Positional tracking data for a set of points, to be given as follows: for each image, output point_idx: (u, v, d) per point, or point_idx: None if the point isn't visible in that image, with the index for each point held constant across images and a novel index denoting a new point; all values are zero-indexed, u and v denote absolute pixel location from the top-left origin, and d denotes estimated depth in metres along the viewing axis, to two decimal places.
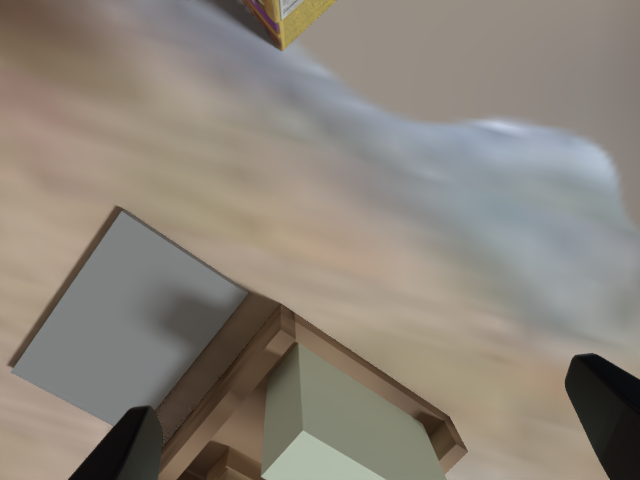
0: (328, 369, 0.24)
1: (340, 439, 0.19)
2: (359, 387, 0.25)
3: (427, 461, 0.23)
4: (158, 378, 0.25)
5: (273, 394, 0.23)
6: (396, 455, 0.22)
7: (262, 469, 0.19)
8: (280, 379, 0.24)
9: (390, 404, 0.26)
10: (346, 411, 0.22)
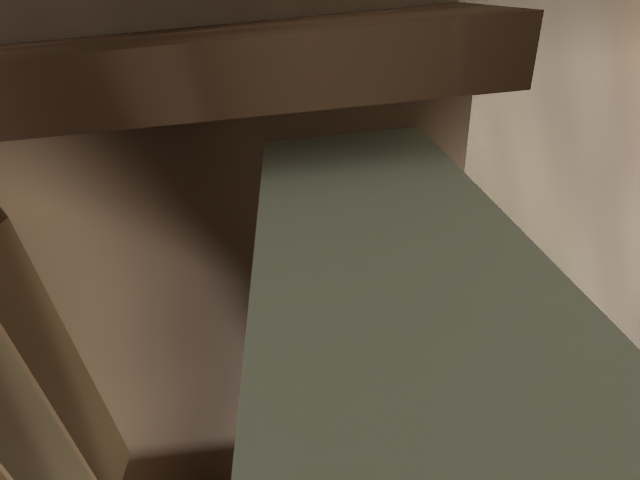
0: None
1: None
2: None
3: None
4: None
5: (307, 183, 0.06)
6: None
7: None
8: (342, 163, 0.07)
9: None
10: None
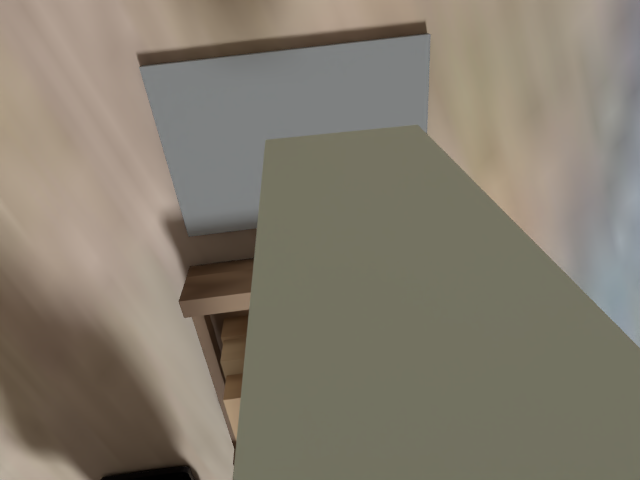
0: None
1: None
2: None
3: None
4: None
5: (307, 180, 0.06)
6: None
7: None
8: (342, 160, 0.07)
9: None
10: None
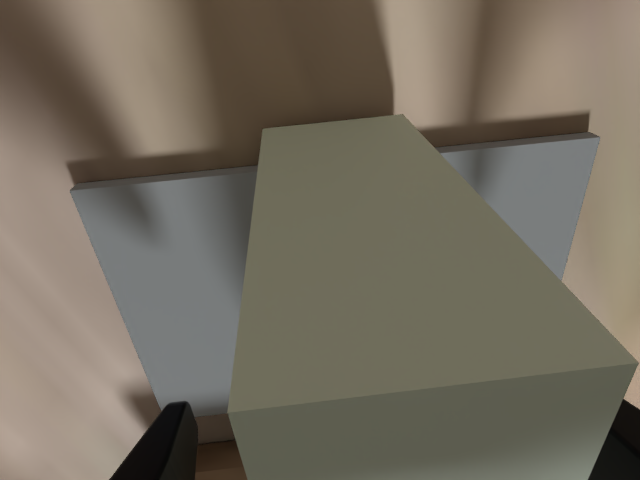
0: None
1: None
2: None
3: None
4: None
5: (299, 162, 0.07)
6: None
7: (243, 376, 0.03)
8: (331, 145, 0.08)
9: None
10: None
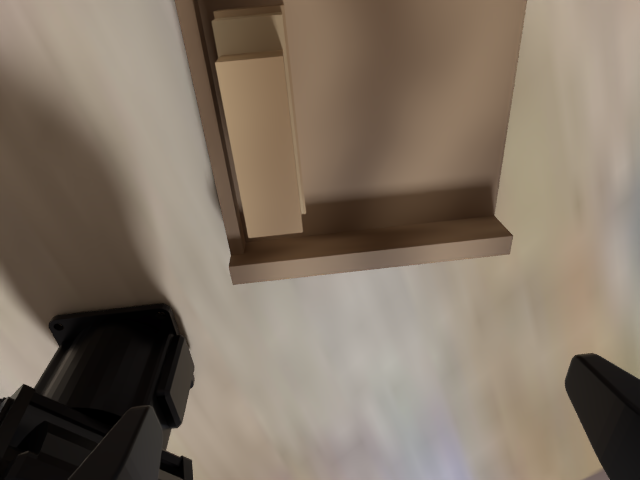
0: None
1: None
2: None
3: None
4: None
5: None
6: None
7: None
8: None
9: None
10: None
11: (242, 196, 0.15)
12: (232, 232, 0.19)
